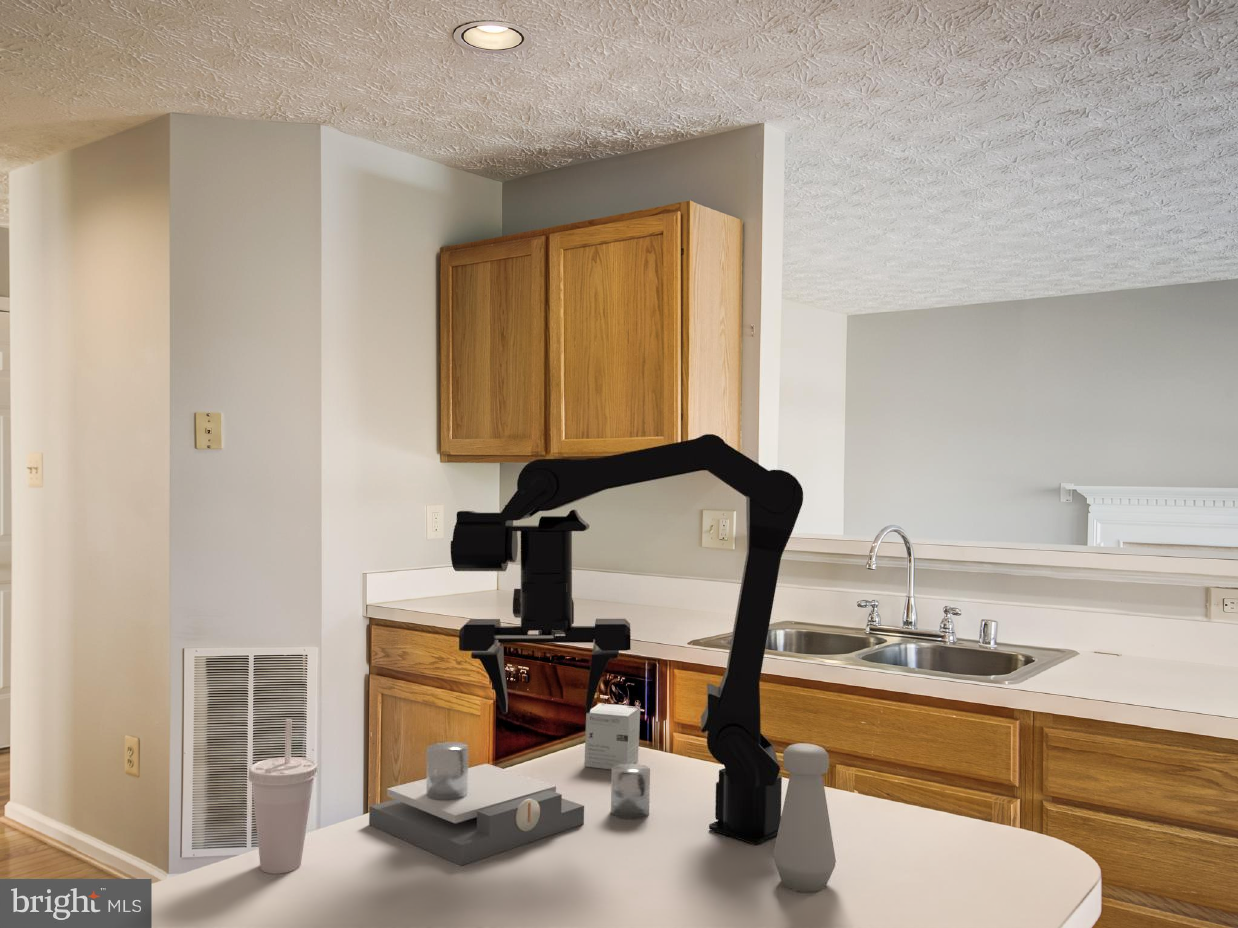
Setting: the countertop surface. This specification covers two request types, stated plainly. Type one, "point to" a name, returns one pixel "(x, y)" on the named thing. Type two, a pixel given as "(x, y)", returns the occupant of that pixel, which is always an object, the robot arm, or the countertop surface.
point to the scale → (477, 815)
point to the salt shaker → (805, 822)
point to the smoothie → (282, 807)
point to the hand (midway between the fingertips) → (546, 712)
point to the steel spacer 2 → (630, 791)
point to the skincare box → (612, 735)
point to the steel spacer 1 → (447, 771)
